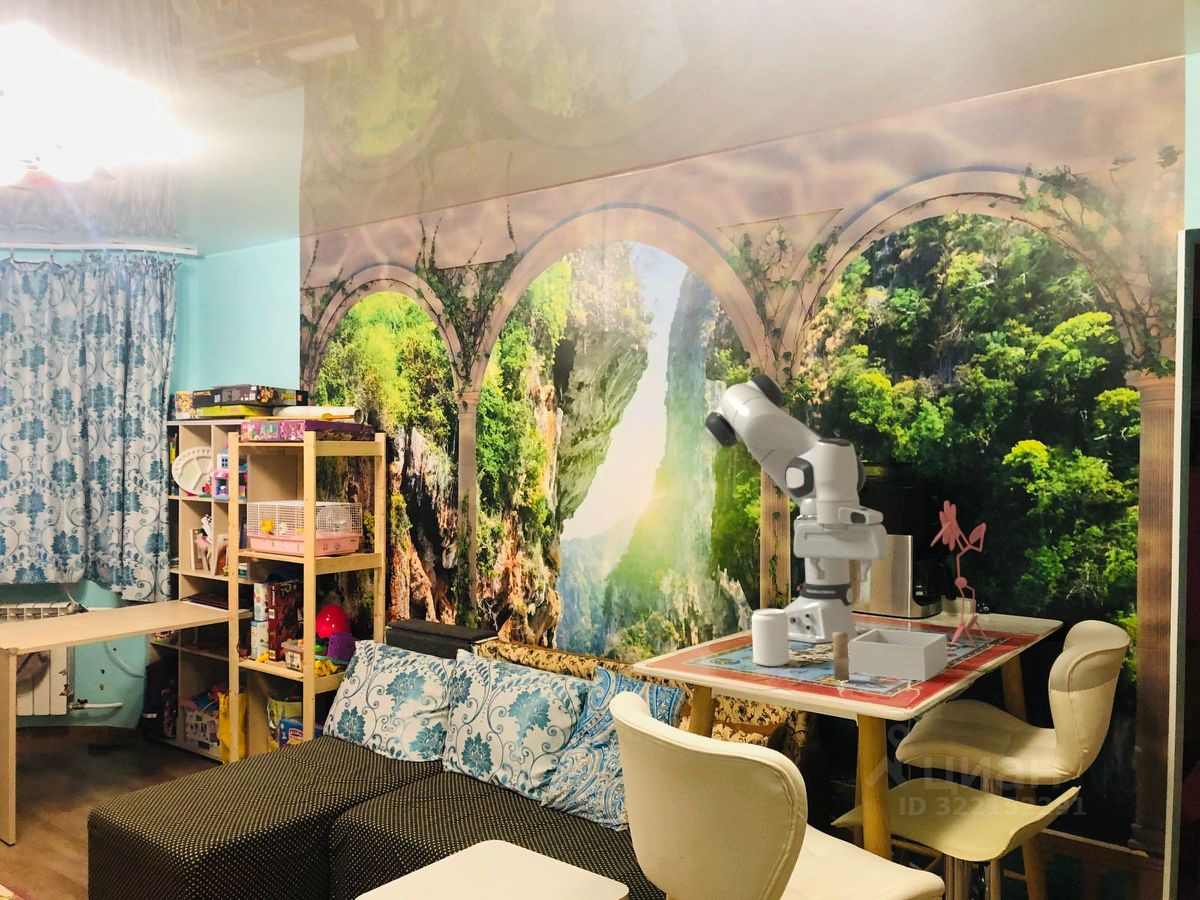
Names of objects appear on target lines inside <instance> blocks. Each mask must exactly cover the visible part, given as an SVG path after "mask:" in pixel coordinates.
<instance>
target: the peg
mask: <svg viewBox="0 0 1200 900" xmlns="http://www.w3.org/2000/svg"><path fill="white" fill-rule="evenodd" d="M832 650H833V651H832V654H833V675H834V676H833V679H835V680H840V681H843V680H844V681H845V680H849V681H850V666H849V640H848V637H847V633H845V632H834V633H833V642H832Z"/></svg>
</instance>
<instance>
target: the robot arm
mask: <svg viewBox="0 0 1200 900" xmlns="http://www.w3.org/2000/svg"><path fill="white" fill-rule="evenodd" d="M784 399H785V395H784V392H783V390H782V387H781V386H780V383H779V382H778V381H776V380H775V379H774V378H772V377H771V376H768V374H764V373H759V374H756V375H755V376H753V377H752V378H750V379H749V380H748V381H747V382H746V383H735V384H733V385H731V386H730V387H728V388H727V389H726V390H725V391H724V392H723V394H722V396H721V399H720V404H719V405H718V406H717V407H716V409H715V410H714V411H711V412H710V413H709V415H708V416H707V417H706V419H705V421H704V426H705V428H706V432H707V435H708V436H709V438H710V439H711V440H712V441H713V443H715V444H717V445H719V446H720V447H722V448H726V449H730V448H732V447H734V446H736V445H738V444H739V442H741V440H742V441H743V443H744V444H745V446H746V448H747V449H748V451H749V452H750V453H751V456H753V457H754V458H753V459H755V460H756V462H758V464H759V466H760V467H761V468H762V469H763V470H764V472H765V473H766V474H767V475H768V476H769V477H770V479H771V480H772V481H773V482H774V483H775V484H776V485H777V486H778V488H779V489H781V490H782V491H783V492H784V493H785V494H786V495H787V496H788V497H789V498H790V500H792V501H793V503H795V504H796V505H797V506H798V507H799V516H797V517H796V518H795V520H794V522H793V530H794V536H793V553H794V556H795V557H796V558H798V559H799V558H801V559H803V558H804V570H805V571H804V572H805V573H804V574H805V581H804V582H803V583H801V584H799V585H797V586H796V588H797V589H796V591H799V596H798V597H797V598H795V599H794V600H793V601H792V602H791V603H790V604H788V605H786V606H785V607H784V608H783V609H782V610H784V611H785V614H786V615H787V618H788V640H791V641H798V642H806V643H812V644H823V643H833V633H834V632H845V633H847V637H848V641H850V640H852V639H854V638H856V637H858V636H859V634H858V632H857V628H856V625H855V622H854V616H853V615H854V614H853V610H852V609H853V608H852V604H853V590H852V582H851V581H850V565H849V564H850V563H849V562H850V561H849V560H855V561H861V562H860V563H861V564H860V565H861V566H863V567H862V569H861V572H857V573H856V580H857V583H860V582H861V583H866V582H868V573H869V571H870V570H871V567H873V566H872V565H873V561H877V562H878V561H883V560H884V561H885V560H886V559H887V558H888V556H889V554H890V549H889V548H890V547H889V546H890V545H889V539H888V538H889V537H888V533H887V530H886V528H885V526H884V525H883V524H881V523H882V522H883V520H884V515H883V513H882V512H880V511H877V510H875V509H872V508H868V507H865V506H863V505H860V497H859V493H860V492H861V490H862V488H864V484H865V482H866V479H867V477H866V476H867V473H866V469H865V468H866V467H865V465H864V464H863V461H862V460H861V459H860V458H859V456H857V454H856V450H855V446H854V444H853V442H851V441H849V440H848V439H844V438H835V437H826V438H825V437H824V436H823V435H822V434H820V433H819V432H817V431H816V430H814V429H813V428H812V427H810V426H809V425H807V424H805V423H803V422H802V421H800V420H798V419H796V418H795V417H793V416H791V415H790V414H788V413H787V412H785V411H784V410H782V408H783V405H784V402H785V400H784Z"/></svg>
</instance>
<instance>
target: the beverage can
mask: <svg viewBox="0 0 1200 900" xmlns="http://www.w3.org/2000/svg"><path fill="white" fill-rule="evenodd" d="M751 631H752V632H751V634H752V658H753V659H752V661H753V663H755V664H757V665H758V664H759V665H758V666H760V665H764V666H763V667H765V666H778V667H781V666H780V665H783V666H785V665H786V664H788V663H790V652H789V651H790V648H789V647H790V646H789V639H788V618H787V615H786V614H785V611H784V610H783V609H780V608H760V609H756V610H753V614H752V616H751ZM784 664H785V665H784Z"/></svg>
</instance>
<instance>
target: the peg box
mask: <svg viewBox="0 0 1200 900" xmlns="http://www.w3.org/2000/svg"><path fill="white" fill-rule="evenodd" d="M947 643H948V642H947V634H945V633H933V632H921V631H912V630H911V631H908V630H899V629H898V630H896V629H884V628H883V629H882V628H873V629H871V630H869V631H866V632H865V633H864V632H863V634H861V635H858V637H856V638H854V639H852V640H848V662H849V673H850V672H857V673H867V674H875V675H882V676H888V677H895V678H905V679H913V680H919V681H920V680H921V681H926V680H927V679H929V678H930V677H932V676H933V677H935V676H936V675H938V674H939V673H941V672H942V671H943V670H945V669H946V668H947V667H946V666H948V644H947ZM945 667H946V668H945ZM944 668H945V669H944ZM942 669H943V670H942ZM941 670H942V671H941ZM938 672H939V673H938ZM937 673H938V674H937ZM935 674H936V675H935ZM934 675H935V676H934ZM933 677H932V678H933ZM929 680H930V679H929ZM926 682H927V681H926Z"/></svg>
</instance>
